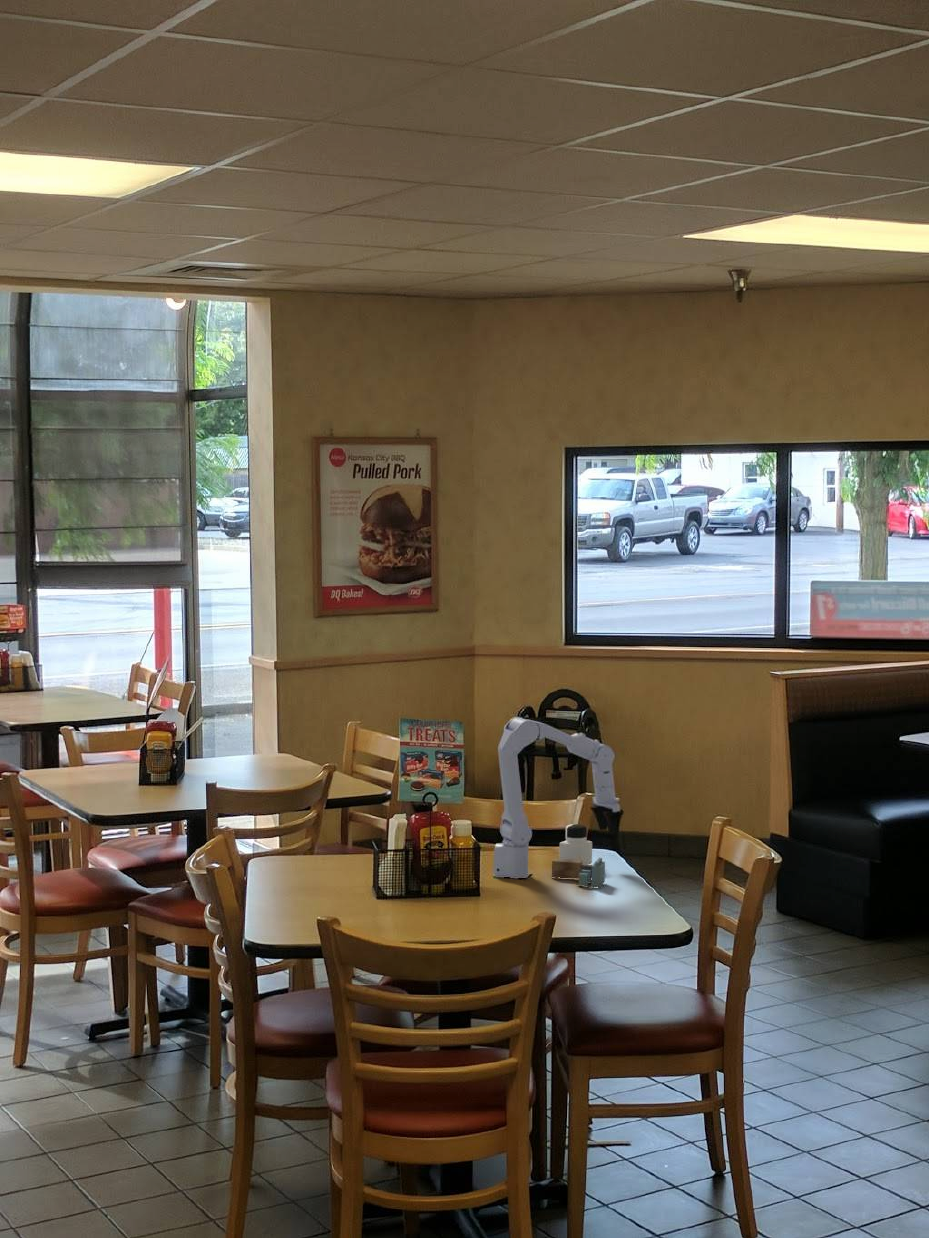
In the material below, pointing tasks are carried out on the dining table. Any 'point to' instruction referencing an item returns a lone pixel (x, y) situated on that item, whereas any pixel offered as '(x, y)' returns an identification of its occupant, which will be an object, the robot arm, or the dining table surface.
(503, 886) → the dining table surface
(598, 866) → the grey boxy pieces
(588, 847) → the medicine bottle
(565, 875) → the rail
